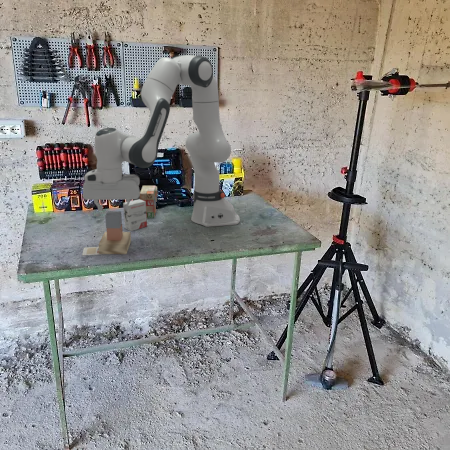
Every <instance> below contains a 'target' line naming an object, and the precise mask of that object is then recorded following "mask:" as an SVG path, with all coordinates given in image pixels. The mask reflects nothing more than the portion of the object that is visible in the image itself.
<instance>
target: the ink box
mask: <svg viewBox="0 0 450 450" xmlns="http://www.w3.org/2000/svg"><path fill="white" fill-rule="evenodd" d="M122 204H123V205H122V208H123V217H124V218H123V220H124V221H123V223H124V229H125V230H127V231H128V232H132V231H137V230H139V229H140V230H141V229H143V228H147V227H148V221H147V220H148V218H147V216H146V202H145V201H143V200H140V198H138V199H133V200H131V201H130V203H129V205H128V210H124V205H126V204H127V202H126V201H125V202H123V203H122Z"/></svg>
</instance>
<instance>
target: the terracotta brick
mask: <svg viewBox="0 0 450 450" xmlns="http://www.w3.org/2000/svg"><path fill="white" fill-rule="evenodd" d="M105 229H106V232H107V240H113V241H121V239H122V236H123V232H124V231H123V224H122V225H121V227H120V228H106V227H105Z"/></svg>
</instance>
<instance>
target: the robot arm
mask: <svg viewBox="0 0 450 450" xmlns="http://www.w3.org/2000/svg"><path fill="white" fill-rule="evenodd" d="M178 85H182V86H190V88H191V94H192V95H191V100H192V101H191V103H192V104H191V105H192V120H193V122H194V124H195V126H196V127H197V130H198V132H197V131H196V132H192V133H190V134H188V135H187V137H186V140H185V148H186V150H187V152H188V154H189V156H190V160H191V162H192V163H191V165H192V168H193V173H194V175H193V176H194V189H193V194H192V195H193V197H192V199H193V210H192V214H191V217H190V219H191V221H192V222H193V223H195V224H198V225H202V226H203V227H206V228H208V227H209V228H210V227H221V226H235V225H239V223H240V222H241V218H240V216H239V214H237V213H236V210H235V207H234V205H233V204H232V203H231V202H230V201H228V200H227V199H226V198H225V197H226V194H225V193H224V191H223V190H222V189H220V172H219V170H218V168H217V166H216V163H217V164H218V163H224V162H226V161H227V160H229V158H230V156H231V153H232V147H231V145H230V142H228V140H227V138H226V136H225V133H224V131H223V128H222V124H221V117H220V101H219V100H220V99H219V98H220V97H219V87H218V83H217V79H216V76H215V75H214V68H213V64H212V62H211V60H210V59H209V58H207V57H206V56H202V55H193V54H186V55H180V56H179V55H175V56H173V57H166V56H165V57H161V58H160V59H158V60H157V62H156V63H155V64H154V65H153V66H152V68H151V70H150V72H149V74H148V75H147V77H146V78H145V81H144V83H143V85H142V88H141V91H140V92H141V93H140V97H141V101H142V102H143V104H144V105H145V106H146V108H148V111H149V119H148V122H147V124H146V125H145V126H146V127H145V130H144V132H143V134H142V136H140V137H136V136H134V135H129V134H126V133H123V132H121V131H120V130H118V129H117V128H115V127H106V128H103V129H99V130H98V131H97V132H96V133H95V135H94V154H95V155H94V156H95V157H96V160H97V161H96V169H93V170H90V171H88V172H86V173H85V175H84V177H83V178H84V183H83V184H82V185H83V186H82V196H83V199H85V200H87V201H90V200H92V201H93V203H94V204H95V206H96V207H97V210H98V212H102V211H103V209H104V208H103V204H100V202H99V201H100V200H101V201H103V200H106V201H107V200H108V201H109V200H111V201H112V200H125V203H126V202H127V204H126V205H124V209H123V211H124V210H128V205H129V203H130V201H132V200H138V199H140V191H141V190H140V187H139V186H140V182H141V181H140V177H139V176H138V175H136V174H134V173H130V174H127V173H123V163H124V162H126V163H129V164H131V165H134V166H136V167H138V168H141V169H146V168H149V167H151V166H152V165H153V164H154V163H155V161H156V160H157V157H158V153H159V146H160V145H159V144H160V143H161V138H162V136H163V133H164V131H165V128H166V125H167V122H168V119H169V116H170V111H171V105H170V104H171V99H172V98H173V95H174V93H175V92H176V89H177V86H178Z"/></svg>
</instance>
